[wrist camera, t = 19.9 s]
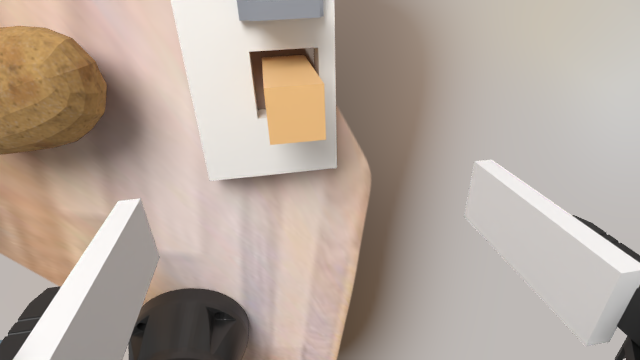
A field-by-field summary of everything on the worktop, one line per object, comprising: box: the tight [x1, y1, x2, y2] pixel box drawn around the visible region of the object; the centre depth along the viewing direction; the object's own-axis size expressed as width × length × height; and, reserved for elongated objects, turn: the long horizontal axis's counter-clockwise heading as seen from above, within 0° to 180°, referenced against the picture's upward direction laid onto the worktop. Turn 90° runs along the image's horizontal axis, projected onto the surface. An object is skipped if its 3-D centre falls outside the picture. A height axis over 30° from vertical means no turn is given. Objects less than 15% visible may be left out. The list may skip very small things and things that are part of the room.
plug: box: [262, 55, 326, 145], centre depth 29 cm, size 4×4×12 cm
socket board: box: [171, 0, 337, 181], centre depth 33 cm, size 18×13×3 cm
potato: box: [0, 26, 107, 154], centre depth 28 cm, size 10×14×8 cm
